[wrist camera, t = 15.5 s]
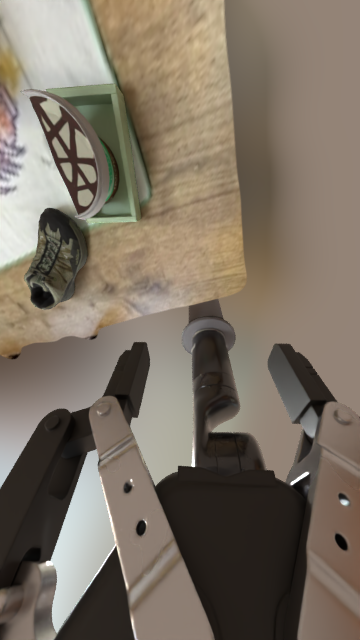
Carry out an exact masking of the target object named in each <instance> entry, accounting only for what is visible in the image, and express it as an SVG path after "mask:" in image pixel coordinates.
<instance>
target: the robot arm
mask: <svg viewBox="0 0 360 640" xmlns="http://www.w3.org/2000/svg"><path fill="white" fill-rule="evenodd" d="M191 353H192V378H193V379H192V380H193V449H192V467H188V466H178V472H175V473H172V474H170V475H168V476H167V477H165V478H164V479H162V480H161V481H160V482H159V483H158V484H157V485H156V486H155V485H154V482H153V480H152V478H151V475H150V473H149V470H148V468H147V466H146V463H145V461H144V459H143V457H142V454H141V452H140V449H139V447H138V445H137V442H136V440H135V438H134V435H133V433H132V431H131V428H130V423H131V419H132V417H134V418H137V417H138V415H139V409H140V406H141V402H142V397H143V393H144V388H145V384H146V380H147V375H148V371H149V367H150V357H149V352H148V347H147V343H146V342H134V344H133V346H132V349H131V350H126V351H125V352H124V353H123V354H122V355H121V356H120V358H119V360H118V362H117V365H116V367H115V370H114V372H113V374H112V377H111V379H110V381H109V384H108V386H107V389H106V391H105V393H104V395H103V396H102V398H100V399H98V400H97V401H96V402H95V403H94V404H93V405H92V406H91V407H89V408H86V409H82V410H79V411H76V412H72V413H70V412H69V411H68V410H67V409H57V410H54V411H52V412H50V413H49V414H48V415H46V416H45V417H44V418H43V419H42V420H41V422H40V423H39V425H38V426H37V428H36V430H35V431H34V433H33V435H32V436H31V438H30V440H29V441H28V443H27V445H26V446H25V448H24V450H23V451H22V453H21V455H20V456H19V458H18V460H17V461H16V463H15V465H14V466H13V469H12V470H11V472H10V473H9V475H8V477H7V478H6V480H5V482H4V483H3V485H2V487H1V489H0V640H360V417H359V416H358V415H357V414H356V413H355V412H354V411H353V410H352V409H350V408H349V407H347V406H345V405H343V404H341V403H338V402H337V401H336V400H335V398H334V397H333V395H332V394H331V392H330V391H329V389H328V388H327V387H326V385H325V384H324V382H323V381H322V379H321V378H320V377H319V375H317V372H316V371H315V369H313V367H312V365H311V364H310V362H309V361H308V359H306V358H305V357H304V356H303V355H302V354H300V353H299V352H298V353H297V352H295V350H294V349H293V347H292V346H291V345H290V344H275V345H274V346H273V349H272V351H271V354H270V356H269V359H268V369H269V371H270V373H271V376H272V378H273V381H274V383H275V385H276V387H277V389H278V392H279V394H280V396H281V399H282V401H283V403H284V405H285V407H286V410H287V412H288V414H289V417H290V419H291V421H292V423H293V424H301V425H302V427H303V430H302V432H301V436H300V440H299V444H298V448H297V452H296V456H295V460H294V463H293V466H292V468H291V470H290V472H289V474H288V476H287V479H286V482H283V481H281V480H279V479H277V478H275V474H274V471H270V470H267V469H266V465H265V461H264V458H263V455H262V452H261V449H260V446H259V444H258V442H257V440H256V439H255V437H254V436H253V435H251V434H249V433H241V432H240V433H239V432H236V433H235V432H233V433H231V432H218V433H217V432H215V433H213V432H212V430H213V429H214V428H215V427H217V426H218V425H219V424H221V423H223V422H225V421H227V420H230V419H232V418H233V417H235V416H236V415H237V414H238V412H239V410H240V402H239V397H238V393H237V389H236V385H235V381H234V377H233V372H232V368H231V364H230V359H229V355H228V351H227V346H226V342H225V336H224V334H223V333H222V332H221V331H219V330H218V329H215V328H204V329H201V330H199V331H197V332H196V333H195V334H194V335H193V337H192V349H191ZM95 449H97V452H98V456H99V462H98V470H99V475H100V479H101V484H102V488H103V492H104V496H105V500H106V504H107V509H108V513H109V517H110V521H111V526H112V530H113V534H114V538H115V542H116V545H115V547H114V548H113V550H112V552H111V553H110V554H109V556H108V557H107V559H106V560H105V562H104V563H103V565H102V566H101V568H100V569H99V571H98V572H97V574H96V575H95V577H94V578H93V580H92V581H91V583H90V584H89V586H88V587H87V589H86V590H85V592H84V593H83V595H82V596H81V598H80V599H79V601H78V602H77V604H76V606H75V607H74V609H73V610H72V611H71V613H70V615H69V616H68V618H67V619H66V620H65V622H64V623H63V625H62V627H61V628H60V630H59V632H58V633H56V632H55V629H54V627H53V623H52V604H53V599H54V594H55V590H56V583H57V575H56V569H55V567H54V565H53V564H52V563H51V562H50V560H51V557H52V554H53V552H54V549H55V546H56V543H57V540H58V537H59V534H60V531H61V528H62V525H63V522H64V519H65V517H66V514H67V511H68V508H69V505H70V502H71V499H72V496H73V493H74V490H75V487H76V485H77V482H78V479H79V476H80V473H81V469H82V467H83V464H84V461H85V458H86V455H87V452H90V451H93V450H95Z"/></svg>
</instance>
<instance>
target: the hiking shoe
mask: <svg viewBox="0 0 360 640" xmlns="http://www.w3.org/2000/svg"><path fill="white" fill-rule="evenodd" d="M87 256H88V252H87V245H86V242H85V238H84V236H83V234H82V232H81V230H80V228H79V227H78V225H77V224H76V223H75V221H73V220H72V219H71V218H70V217H69V216H67V215H66V214H64V213H63V212H61V211H59V210H56V209H53V208H47V209H45V210H44V212H43V213H42V214H41V216H40V220H39V230H38V245H37V250H36V255H35V257H34V258H33V262H32V263H31V266H30V268H29V270H28V271H27V273H26V274H25V275H24V280H25V282H26V283H27V285H28V287H29V289H30V291H31V299H30V300H31V302H32V303H33V305H35V307H38V308H40V309H43V310H46V309H51V308H52V307H54V306H56V305H57V304H58V303H59V302H63V301H66V300H69V299H70V298H71V297H72V295H73V293H74V290H75V283H74V280H75V277H76V274H77V272H78V271H79V270H80V269H81V268H82V267H83V266H84V264H85V263H86V260H87Z"/></svg>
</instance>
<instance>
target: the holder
mask: <svg viewBox="0 0 360 640" xmlns="http://www.w3.org/2000/svg"><path fill="white" fill-rule="evenodd" d="M46 91H47V92H49V93H52V94H55V95H58V96H59V97H61V98H63V99H65V100H66V101H68V102H69V103H70V104H72V105H73V106H74V107H75V108H77V109H78V111H79V112H80V113H81V114H82V115H83V116H84V117H85V118H86V119H87V121H88V122H89V123H90V125H91V126H92V128H93V129H94V131H95V133H96V134H97V136H99V137H100V138H101V139H102V140H103V141H104V142H105V143H106V144H107V145H108V147H109V148H110V149H111V151H112V153H113V154H114V157H115V159H116V161H117V164H118V168H119V179H120V181H119V186H118V190H117V192H116V194H115V196H114V197H113V198H112V199H111V200H110V201H109V202H107V203H106V204H104V205H103V207H102V208H101V209H100V211H99V212H98V213H96V214H95V215H94V216H92V217H90V218H87V219H86V221H87V223H108V222H137V221H139V220H140V219H141V212H140V205H139V198H138V191H137V184H136V177H135V170H134V163H133V157H132V150H131V143H130V136H129V129H128V122H127V115H126V108H125V101H124V95H123V94H122V93H121V91H120V90H119V88H118V87H117V86H116V84H103V85H91V86H78V87H66V88H54V89H46Z"/></svg>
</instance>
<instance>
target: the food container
mask: <svg viewBox="0 0 360 640" xmlns="http://www.w3.org/2000/svg"><path fill="white" fill-rule="evenodd" d="M21 93H23V94H24V95H25V96H27V97H28V98H29V99H30V101H31V103H32V106H33V109H34V110H35V112H36V114H37V117H38V119H39V121H40V124H41V126H42V129H43V131H44V134H45V136H46V139H47V141H48V144H49V147H50V150H51V153H52V156H53V158H54V161H55V164H56V166H57V168H58V170H59V172H60V174H61V176H62V178H63V181H64V183H65V185H66V187H67V189H68V191H69V194H70V196H71V198H72V201H73V203H74V206H75V208H76V210H77V213H78V215H76V216H74V217H78V219H83V220H84V219H87V218H90V217H92V216H94V215H95V214H96V213H98V212H99V211H100V209H101V208H102V207H103V205H104V204H106V203H107V202H109V201H110V200H111V199H112V198H113V197H114V196H115V194H116V192H117V190H118V186H119V181H120V179H119V168H118V164H117V161H116V159H115V157H114V154H113V153H112V151H111V149H110V148H109V147H108V145H107V144H106V143H105V142H104V141H103V140H102V139H101V138H100V137H99V136H97V134H96V133H95V131H94V129H93V128H92V126H91V125H90V123H89V122H88V121H87V119H86V118H85V117H84V116H83V115H82V114H81V113H80V112H79V111H78V109H77V108H75V107H74V106H73V105H72V104H70V103H69V102H68V101H66V100H65V99H63V98H61V97H59V96H58V95H55V94H52V93H49V92H45V91H41V90H34V89H29V90H24V91H21Z"/></svg>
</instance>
